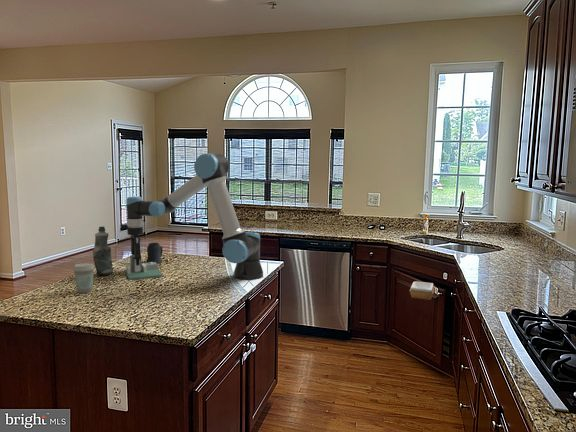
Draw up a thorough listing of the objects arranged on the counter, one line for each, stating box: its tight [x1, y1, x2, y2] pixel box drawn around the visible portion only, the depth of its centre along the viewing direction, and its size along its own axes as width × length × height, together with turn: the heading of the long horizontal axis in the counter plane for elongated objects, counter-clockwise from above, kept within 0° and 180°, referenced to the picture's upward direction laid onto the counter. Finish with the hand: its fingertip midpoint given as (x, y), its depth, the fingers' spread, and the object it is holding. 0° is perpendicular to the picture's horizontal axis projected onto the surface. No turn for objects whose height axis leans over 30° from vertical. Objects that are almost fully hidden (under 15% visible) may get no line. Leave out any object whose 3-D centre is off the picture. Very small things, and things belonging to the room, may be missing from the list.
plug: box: [129, 254, 142, 272], centre depth 219 cm, size 4×5×8 cm
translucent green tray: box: [124, 262, 164, 281], centre depth 218 cm, size 20×16×6 cm
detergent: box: [92, 225, 114, 276], centre depth 214 cm, size 13×7×25 cm, turn 164°
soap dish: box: [409, 281, 435, 301], centre depth 187 cm, size 12×10×5 cm
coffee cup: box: [72, 262, 96, 294], centre depth 186 cm, size 8×8×12 cm
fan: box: [143, 262, 159, 270], centre depth 227 cm, size 6×6×3 cm
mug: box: [145, 242, 163, 265], centre depth 246 cm, size 12×9×11 cm
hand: (136, 269), depth 220 cm, fingers open, 10 cm apart
